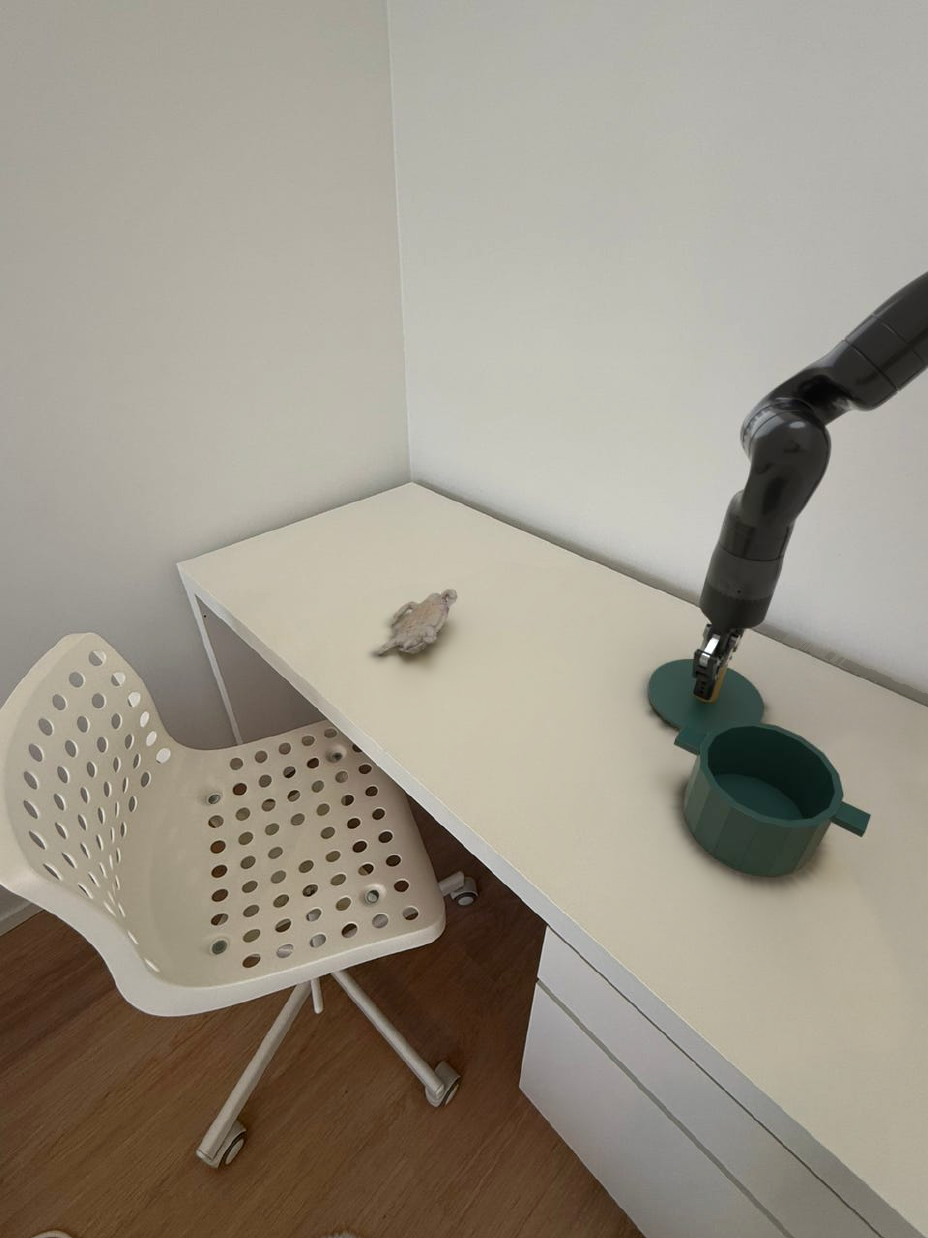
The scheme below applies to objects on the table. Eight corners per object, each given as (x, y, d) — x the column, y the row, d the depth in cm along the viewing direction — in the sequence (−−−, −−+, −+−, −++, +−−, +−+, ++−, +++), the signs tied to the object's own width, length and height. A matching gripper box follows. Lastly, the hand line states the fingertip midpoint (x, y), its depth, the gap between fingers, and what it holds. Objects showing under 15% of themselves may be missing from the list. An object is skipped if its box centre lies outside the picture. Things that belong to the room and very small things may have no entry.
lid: (674, 651, 94) (684, 612, 90) (776, 694, 87) (793, 653, 83) (628, 707, 85) (636, 666, 81) (738, 761, 78) (754, 719, 73)
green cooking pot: (689, 743, 80) (704, 693, 75) (855, 824, 71) (886, 773, 66) (640, 816, 72) (653, 765, 66) (822, 919, 62) (854, 870, 57)
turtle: (442, 684, 93) (466, 632, 88) (378, 672, 90) (399, 618, 85) (433, 617, 105) (454, 568, 100) (377, 605, 102) (395, 554, 97)
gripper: (753, 620, 68) (715, 733, 78) (793, 563, 77) (754, 672, 87) (685, 594, 72) (657, 706, 82) (730, 543, 80) (700, 650, 91)
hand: (707, 688), depth 85 cm, fingers closed on lid, 3 cm apart
